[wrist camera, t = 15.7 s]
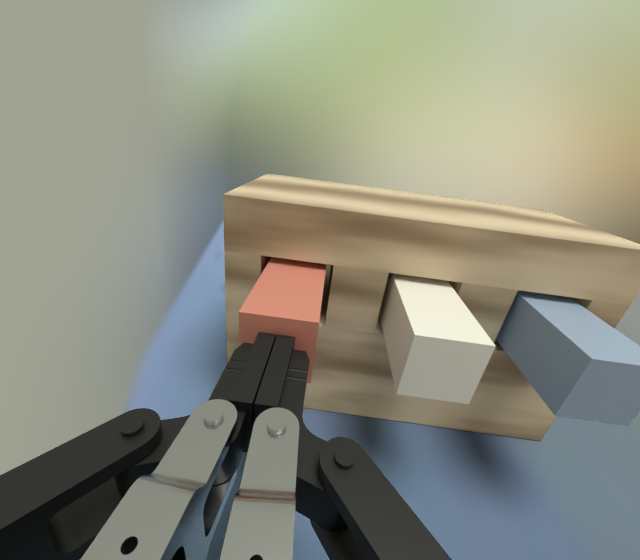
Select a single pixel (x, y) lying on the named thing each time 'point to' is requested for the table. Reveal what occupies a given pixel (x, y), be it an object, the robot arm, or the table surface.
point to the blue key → (573, 358)
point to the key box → (422, 261)
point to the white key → (432, 339)
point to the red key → (285, 304)
